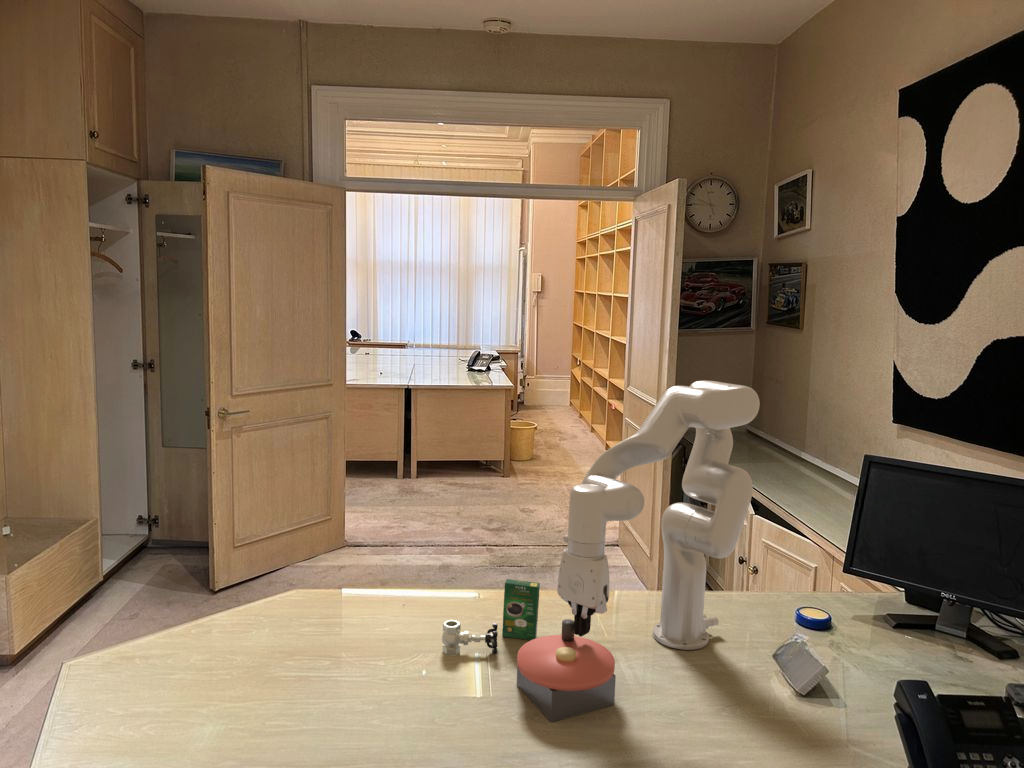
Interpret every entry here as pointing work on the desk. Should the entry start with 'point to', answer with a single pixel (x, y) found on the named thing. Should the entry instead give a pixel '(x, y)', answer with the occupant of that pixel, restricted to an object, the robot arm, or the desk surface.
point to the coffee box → (520, 609)
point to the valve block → (567, 698)
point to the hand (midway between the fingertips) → (581, 633)
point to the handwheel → (566, 661)
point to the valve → (465, 638)
